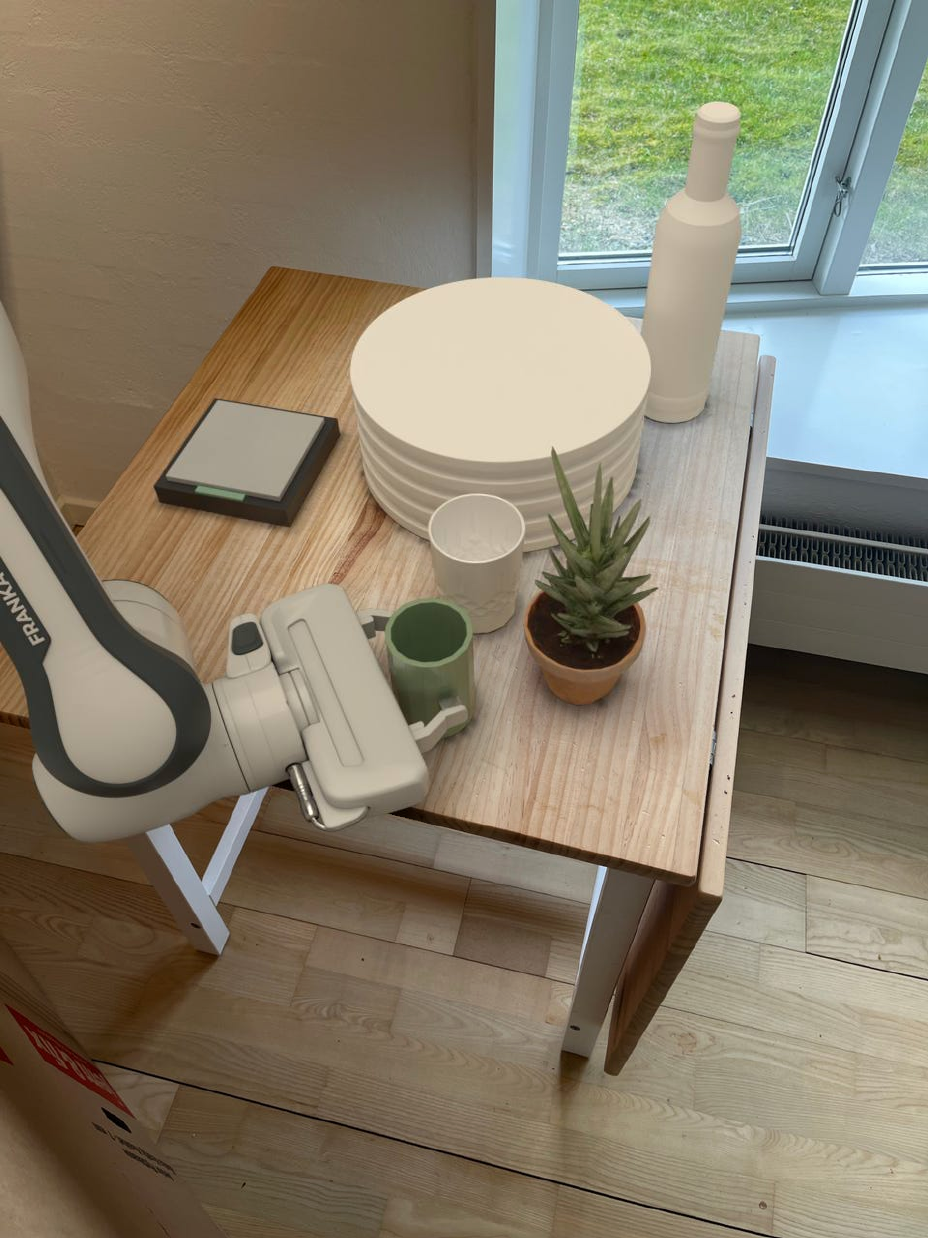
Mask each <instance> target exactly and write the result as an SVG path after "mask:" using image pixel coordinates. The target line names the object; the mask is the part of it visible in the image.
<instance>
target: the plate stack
mask: <svg viewBox="0 0 928 1238" xmlns="http://www.w3.org/2000/svg"><path fill="white" fill-rule="evenodd" d="M650 378H651V360H650V355H649V351H648V349H647V346H646V344H645V342H644V340H643V338H642V336H641V332H640V331H639V330H638V329H637V327H636V326H635V325H634V324H633V323H632V322H631V321H630V320H629V319H628V318H627V317H626V316H625V315H624V314H622V313H621V312H620V311H619V310H617V309H616V308H614V307H613V306H612V305H611V304H609V303H606V302H605V301H604V300H602V299H600V298H598V297H596V296H594V295H591V294H590V293H587V292H585V291H582V290H580V289H577V288H574V287H571V286H567V285H564V284H560V283H557V282H551V281H547V280H541V279H536V278H535V279H534V278H527V277H526V278H525V277H512V276H511V277H509V276H508V277H507V276H496V277H494V276H493V277H480V278H471V279H464V280H458V281H452V282H448V283H443V284H440V285H437V286H434V287H430V288H428V289H425V290H422V291H420V292H416V293H415V294H412V295H410V296H408V297H406V298H404V299H402V300H401V301H399V302H397V303H395V304H394V305H391V307H389V308H387V309H386V310H385V311H384V312H382V313H381V314H380V315H379V316H377V317H376V318H375V319H374V320H373V321H372V322H371V323H370V324H369V325H368V326H367V327H366V329H365V330H364V331H363V332H362V334H361V336H360V337H359V338H358V340H357V342H356V344H355V346H354V349H353V351H352V355H351V359H350V363H349V379H350V385H351V391H352V398H353V405H354V413H355V417H356V426H357V433H358V439H359V447H360V453H361V454H360V455H361V460H362V467H363V468H362V469H363V473H364V478H365V481H366V482H365V483H366V485H367V487H368V489H369V492H370V493H371V495H372V497H373V498H374V500H375V501H376V503H377V504H378V506H379V507H380V508H381V509H382V510H383V511H384V513H386V514H387V515H388V516H389V517H390V518H391V519H392V520H393V521H395V522H396V523H397V524H398V525H400V526H401V527H403V528H404V529H405V530H407V531H409V532H411V533H413V534H414V535H416V536H418V537H420V538H422V539H424V540H427V541H429V542H430V540H429V533H428V525H429V521H430V518H431V516H432V515H433V513H434V512H435V511H436V509H437V508H438V507H439V506H441V505H442V504H443V503H445V502H446V501H448V500H450V499H452V498H455V497H458V496H461V495H466V494H475V493H480V494H489V495H494V496H497V497H500V498H502V499H505V500H506V501H508V502H510V503H511V504H512V505H514V506H515V507H516V508H517V509H518V510H519V512H520V513H521V515H522V517H523V519H524V523H525V535H524V545H523V553H528V552H534V551H540V550H543V549H548V548H547V547H549V546H550V548H552V547H555V546H560V545H559V543H558V541H557V539H556V537H555V535H554V533H553V530H552V527H551V524H550V522H549V518H548V513H549V514H550V515H551V517H552V518H553V519H554V521H555V522H556V524H557V525H558V526H559V528H560V529H561V530H562V532H563V533H564V534H565V535H566V536H567V538H568V539H569V540H570V541H572V540H574V539H576V538H575V535H574V532H573V529H572V526H571V523H570V520H569V517H568V515H567V512H566V510H565V507H564V503H563V499H562V496H561V492H560V489H559V485H558V482H557V478H556V474H555V470H554V464H553V460H552V456H551V451H552V446H553V447H554V450H555V451H556V454H557V456H558V459H559V462H560V465H561V467H562V469H563V472H564V474H565V476H566V479H567V481H568V484H569V486H570V489H571V491H572V494H573V496H574V499H575V501H576V504H577V507H578V509H579V512H580V514H581V516H582V518H583V520H584V522H585V524H586V527H587V530H588V529H589V518H590V509H591V504H593V498H594V491H595V481H596V475H597V471H598V466H599V463H600V462H601V470H602V492H601V506H602V502H603V499H604V496H605V492H606V489H607V486H608V483H609V480H610V477H611V476H613V489H614V498H613V513H615V512H616V511H617V510H618V508H619V507H620V506H621V505H622V504H623V502H624V501H625V499H626V498H627V496H628V494H629V493H630V491H631V489H632V486H633V484H634V481H635V478H636V473H637V468H638V462H639V461H638V460H639V454H640V449H641V441H642V435H643V430H644V429H643V428H644V422H645V411H646V404H647V397H648V390H649V385H650Z"/></svg>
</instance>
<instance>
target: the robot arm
mask: <svg viewBox="0 0 928 1238" xmlns="http://www.w3.org/2000/svg"><path fill="white" fill-rule="evenodd" d="M28 375H29V374H28V368H27V363H26V361H25V358H24V355H23V352H22V350H21V347H20V344H19V342H18V338H17V336H16V334H15V331H14V328H13V326H12V323H11V321H10V319H9V317H8V314H7V312H6V310H5V308H4V305H3V303H2V301H1V300H0V644H1V646H2V648H3V649H4V650H5V652H6V654H7V656H8V658H10V661H11V662H12V665H13V666H14V668H15V670H16V672H17V674H18V676H19V678H20V681H21V684H22V687H23V691H24V695H25V699H26V706H27V713H28V714H27V715H28V720H29V721H28V722H29V730H30V737H31V741H32V745H33V749H34V751H35V753H34V755H33V759H32V761H31V771H32V772H31V774H32V779H33V784H34V786H35V789H36V791H37V793H38V795H39V797H40V799H41V804H42V805H43V807H44V809H45V810H46V812H47V814H48V815H49V816H50V818H51V819H52V821H53V822H54V823H55V824H56V825H57V827H58V828H59V829H60V830H62V831H63V833H65V834H66V835H68V836H69V837H71V838H73V839H74V840H76V841H78V842H81V843H93V844H94V843H97V844H98V843H106V842H113V841H118V840H122V839H126V838H130V837H134V836H137V835H140V834H144V833H147V832H150V831H153V830H157V829H159V828H163V827H166V826H168V825H171V824H173V823H177V822H179V821H182V820H184V819H187V818H190V817H192V816H194V815H196V814H198V813H199V812H200V811H202V810H203V809H204V808H206V807H207V806H209V805H210V804H212V803H215V802H217V801H219V800H222V799H225V798H231V797H240V796H241V797H242V796H247V795H250V794H253V793H255V792H258V791H261V790H264V789H266V788H269V787H272V786H274V785H276V784H279V783H282V782H285V781H287V780H290V783H291V786H292V789H293V791H294V793H295V795H296V796H297V799H298V802H299V804H300V805H299V808H300V811H301V814H302V816H303V819H304V820H305V821H306V822H307V823H311V824H312V825H313V826H314V827H315V828H317V829H319V830H321V831H323V832H328V833H336V832H339V831H342V830H345V829H348V828H349V827H352V826H355V825H356V824H359V823H360V822H361V821H363V820H365V819H370V818H374V817H380V816H383V815H387V814H390V813H394V812H397V811H400V810H401V811H402V810H405V809H407V808H410V807H413V806H415V805H418V804H420V803H421V802H423V801H424V799H425V798H426V796H427V794H428V793H429V791H430V789H431V779H430V771H429V768H428V765H427V763H426V761H425V759H424V756H423V754H425V753H426V752H429V751H431V750H433V748H434V747H435V746H436V745H437V743H438V742H439V741H440V740H441V739H440V738H441V737H442V736H443V735H444V734H445V732H446V731H447V729H448V728H451V727H454V726H456V725H459V724H461V723H464V722H465V721H466V720H467V719H468V711H467V709H466V707H465V705H464V703H463V701H462V700H461V698H460V696H459V695H455V696H452V697H451V698H450V699H444V700H441V701H439V702H438V705H439V713H438V714H437V715H436V716H435V717H434V718H433V720H432V721H431V722H430V723H429V724H428V725H427V726H426V727H425V726H424V724H423V722H422V721H420V722H417V723H415V724H412V725H409V726H408V724H407V722H406V720H405V718H404V716H403V713H402V711H401V709H400V707H399V705H398V703H397V701H396V698H395V696H394V694H393V689H392V687H391V686H390V683H389V681H388V680H387V677H386V675H385V672H384V670H383V669H382V667H381V663H380V662H379V659H378V657H377V655H376V654H375V652H374V649H373V647H372V645H371V643H370V641H369V640H371V639H373V638H376V637H377V632H385V627H386V625H387V623H388V621H389V619H390V617H391V615H392V614H393V613H394V612H395V611H393V610H387V609H386V610H385V609H378V608H366V609H363V610H359V611H357V612H356V610H355V608H354V606H353V603H352V602H351V599H350V597H349V595H348V594H347V591H346V589H345V587H344V586H343V585H340V584H336V583H335V584H334V583H330V582H326V583H321V584H316V585H313V586H311V587H308V588H304V589H302V590H299V591H297V592H294V593H291V594H288V595H286V596H284V597H281V598H279V599H277V600H275V601H273V602H272V603H270V604H268V605H267V606H266V607H265V608H264V609H263V610H262V612H261V614H260V617H259V619H258V617H257V615H256V614H255V613H253V612H245V613H242V614H239V615H237V616H234V617H232V618H231V620H230V622H229V625H228V641H227V642H228V643H227V653H226V654H227V655H226V664H225V676H223V677H220V678H217V679H213V680H211V681H208V682H203V683H202V682H201V679H200V677H199V675H198V671H197V667H196V663H195V659H194V658H195V657H194V655H193V654H194V653H193V650H192V647H191V643H190V639H189V636H188V633H187V628H186V626H185V623H184V622H183V619H182V617H181V615H180V614H179V612H178V611H177V610H176V608H175V607H174V606H173V605H172V603H171V602H170V601H169V600H168V598H167V597H165V596H164V595H163V594H162V593H161V592H159V591H158V590H156V589H155V588H154V587H151V586H150V585H147V584H144V583H141V582H138V581H135V580H130V579H119V578H118V579H117V578H114V579H112V578H111V579H105V580H102V579H101V578H100V576H99V574H98V573H97V571H96V569H95V567H94V566H93V564H92V562H91V560H90V559H89V557H88V555H87V553H86V552H85V550H84V549H83V548H82V546H81V544H80V542H79V540H78V538H77V537H76V535H75V533H74V532H73V530H72V528H71V527H70V525H69V524H68V522H67V520H66V519H65V517H64V515H63V513H62V512H61V510H60V508H59V507H58V505H57V502H56V500H55V499H54V497H53V495H52V493H51V490H50V488H49V485H48V483H47V480H46V478H45V475H44V472H43V470H42V469H43V468H42V466H41V463H40V460H39V456H38V452H37V448H36V442H35V438H34V437H35V436H34V431H33V430H34V429H33V423H32V414H31V403H30V386H29V376H28ZM320 817H321V821H322V822H321V821H319V818H320Z"/></svg>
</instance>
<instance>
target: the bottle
mask: <svg viewBox="0 0 928 1238" xmlns="http://www.w3.org/2000/svg"><path fill="white" fill-rule="evenodd" d="M741 117H742V112H741V111H740V109H739V107H737V106H736V105H734V104H733V103H730V102H726V101H710V102H706V103H704V104H703V105H701V106H700V107H698V108H697V111H696V115H695V120H694V121H693V124H692V128H691V130H692V135H693V136H692V141H691V147H690V152H689V160H688V166H687V173H686V178H685V184H684V188H682V189H681V190H679V191H678V192H676V193H675V194H673V195H672V196H671V197H670V198H668V200H666V204H665V205H664V207H663V209H662V211H661V213H660V215H659V218H658V220H657V222H656V225H655V228H654V237H653V243H652V251H651V257H650V264H649V273H648V278H647V279H648V281H647V287H646V294H645V302H644V307H643V315H642V316H643V317H642V323H641V331H640V335H641V336H642V338H643V340H644V342H645V344H646V346H647V349H648V351H649V355H650V360H651V378H650V385H649V390H648V397H647V404H646V411H645V415H644V417H647V418H649V419H650V420H654V421H657V422H661V423H667V424H668V423H669V424H670V423H671V424H677V423H683V422H688V421H690V420H692V419H695V418H697V417H699V415H700V414H701V413H702V412H703V411H704V409H705V405H706V402H707V399H708V396H709V392H710V388H711V383H712V373H713V369H714V365H715V360H716V354H717V351H718V350H717V349H718V345H719V342H720V341H719V340H720V336H721V331H722V327H723V326H722V325H723V321H724V318H725V312H726V308H727V303H728V299H729V293H730V289H731V285H732V284H731V283H732V280H733V275H734V272H735V271H734V270H735V266H736V260H737V256H738V251H739V246H740V243H741V237H742V233H743V229H742V228H743V227H742V219H741V212H740V208H739V206H738V204H737V202H736V201H735V200H734V198H733V197H732V196H731V195H730V194H729V193H728V192H727V190H728V189H727V188H728V184H729V179H730V173H731V170H732V169H731V168H732V163H733V158H734V153H735V149H736V142H737V139H738V137H739V135H740V131H741V123H740V121H741Z"/></svg>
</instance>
